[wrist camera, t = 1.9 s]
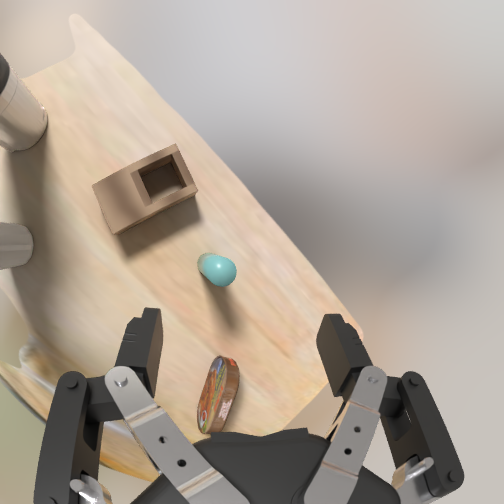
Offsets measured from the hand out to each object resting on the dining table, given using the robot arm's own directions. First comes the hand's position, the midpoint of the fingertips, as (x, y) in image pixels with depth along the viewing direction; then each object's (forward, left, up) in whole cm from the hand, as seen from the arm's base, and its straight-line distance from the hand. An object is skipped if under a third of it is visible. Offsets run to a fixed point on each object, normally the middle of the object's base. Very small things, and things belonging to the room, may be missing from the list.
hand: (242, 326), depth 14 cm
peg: (+3, -1, -34) cm, 34 cm away
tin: (-7, -21, -34) cm, 41 cm away
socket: (-1, +14, -34) cm, 37 cm away
